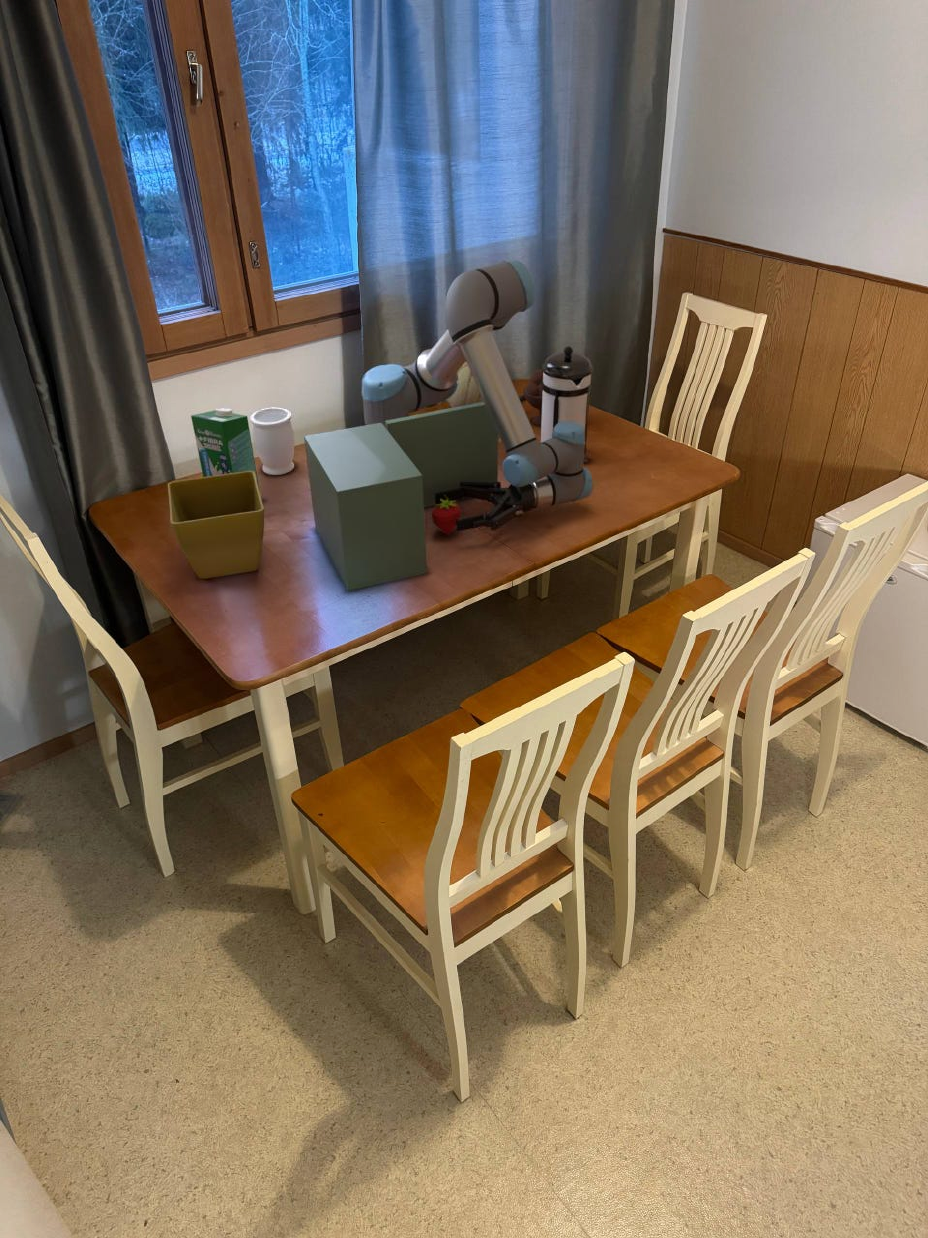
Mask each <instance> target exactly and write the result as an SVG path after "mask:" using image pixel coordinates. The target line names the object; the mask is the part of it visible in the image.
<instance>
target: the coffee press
mask: <svg viewBox="0 0 928 1238" xmlns="http://www.w3.org/2000/svg"><path fill="white" fill-rule="evenodd" d="M541 369H542V371H543V380H542V389H543V396H542V423H541V426H540V443H542V442H544V441H546V440H549V439H551V438H552V433H553V428H554V427H555V426H556V424H558V423H561V422H575V423H577V424H580V425H582V426H583V427H584V429H585V443H586V444H585V449H584V462H583V463H588V462H589V460H590V457H591V456H590V455H589V453H588V451H587V441H588V423H589V412H590V411H589V410H590V399H591V398H590V394H591V393H590V391H591V389H592V380H591V379H592V374H593V370H594V367H593V365H592V363H591V360H590V359H589V358H588V357H586V356H585V355H583V354H580V353H577V352H574V350H573V348H572V347H571V346H566V347H565V348H564V349H563V352H557V353H553V354H551V355H550V356H548V357H547V358H546V359H545V361H544V363H542V365H541Z"/></svg>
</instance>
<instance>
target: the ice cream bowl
mask: <svg viewBox="0 0 928 1238" xmlns="http://www.w3.org/2000/svg"><path fill="white" fill-rule="evenodd" d="M542 380H543V371H542V368H540V369H537V370H535V371H534V372H533V373H532V375H531V377H530V381H529V383H527V385H526V386H525V388H524V389H523V390H522V391H523V395H524V396H525V398H524V399H525V400H526V402H527V403H528V404H529V405H530V406H531V407H532V408H534V409H536V410H538V416H535V417H534V418H533V419H532V420H531V421H532V423H533V425H535V426H539V427H541V423H542V396H543V389H542Z"/></svg>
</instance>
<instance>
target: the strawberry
mask: <svg viewBox="0 0 928 1238" xmlns="http://www.w3.org/2000/svg"><path fill="white" fill-rule="evenodd" d="M446 498H447V497H446ZM447 499H448V498H447ZM440 500H441V502H442V503H441V504H438V505H434V506H435V507H433V509H432V512H431V519H432V522H433V524H434V526H436V527H437V528H438V530H440V531H441V532H442V533H443V534H445V535H450V534H451V533H452V531H453V530H454V529H455V527H456V520H458V519H461V514H462V510H461V506H459V504H457V503H456V501H449V499H448V500H443V499H440Z"/></svg>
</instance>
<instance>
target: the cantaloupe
mask: <svg viewBox="0 0 928 1238" xmlns="http://www.w3.org/2000/svg"><path fill="white" fill-rule="evenodd" d="M457 372H458V381H457V383H458V387H457V389H456V391H455V393H454V394H453V395H452V396H451V397H450V398H448V399H447V400H446V402H447V404H448V405H449V406H450V408H454V407H459V406H464V405H469V404H474V403H479V402H484V400H483V398H482V396H481V394H480V391H479V389H478V387H477V384H476V382H475V380H474V378H473V375H472V373H471V371H470V368H469V366H468V364H467V362H465V363H464V364H463V365H462V367H461V368H460V369H459V370H458V371H457Z"/></svg>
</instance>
